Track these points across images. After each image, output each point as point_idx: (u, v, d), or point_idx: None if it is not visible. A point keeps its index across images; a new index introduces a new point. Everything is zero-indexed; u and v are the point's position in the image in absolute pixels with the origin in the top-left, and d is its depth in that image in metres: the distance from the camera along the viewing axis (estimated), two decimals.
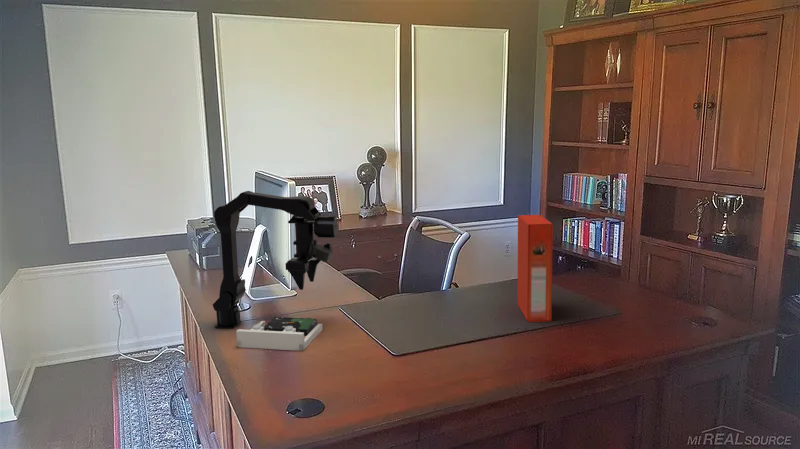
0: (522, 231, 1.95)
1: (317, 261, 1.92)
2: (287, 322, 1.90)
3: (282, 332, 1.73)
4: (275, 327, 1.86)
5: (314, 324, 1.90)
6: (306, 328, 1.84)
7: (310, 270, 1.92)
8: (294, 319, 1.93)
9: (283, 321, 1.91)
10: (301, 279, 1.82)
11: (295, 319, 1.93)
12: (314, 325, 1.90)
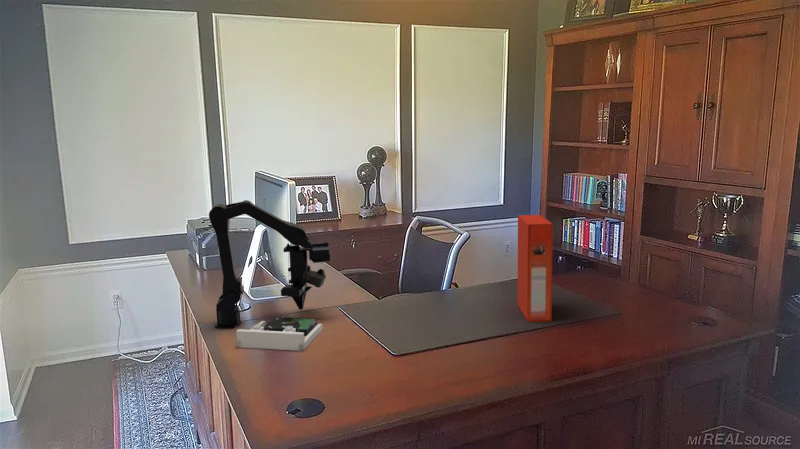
0: (522, 231, 1.95)
1: (306, 289, 1.98)
2: (287, 322, 1.90)
3: (282, 332, 1.73)
4: (275, 327, 1.86)
5: (314, 324, 1.90)
6: (306, 328, 1.84)
7: None
8: (294, 319, 1.93)
9: (283, 321, 1.91)
10: (300, 300, 1.96)
11: (295, 319, 1.93)
12: (314, 325, 1.90)
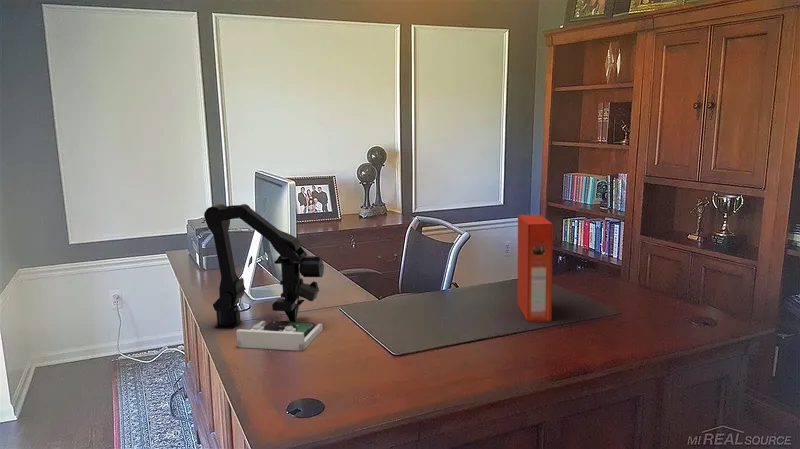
0: (522, 231, 1.95)
1: (299, 303, 1.91)
2: (284, 326, 1.86)
3: (282, 332, 1.73)
4: None
5: (311, 328, 1.86)
6: (303, 332, 1.81)
7: None
8: (291, 323, 1.89)
9: (280, 325, 1.87)
10: (293, 314, 1.90)
11: (292, 323, 1.89)
12: (311, 329, 1.86)
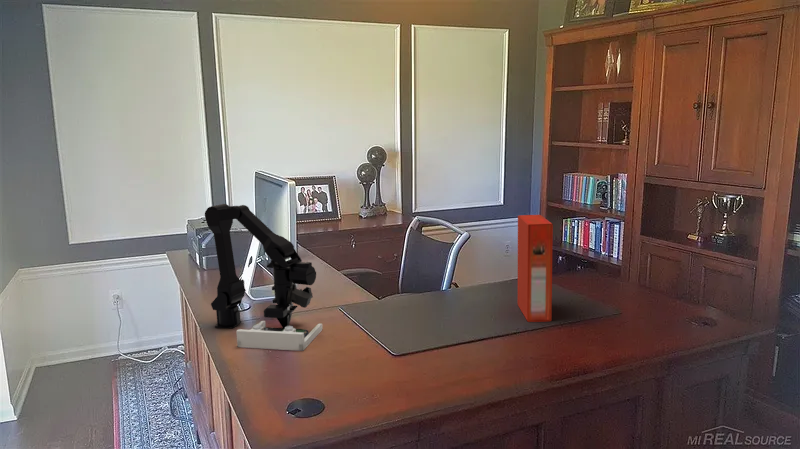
0: (522, 231, 1.95)
1: (292, 309, 1.85)
2: None
3: (282, 332, 1.73)
4: None
5: (305, 335, 1.80)
6: None
7: None
8: None
9: None
10: (285, 320, 1.84)
11: None
12: (305, 336, 1.80)
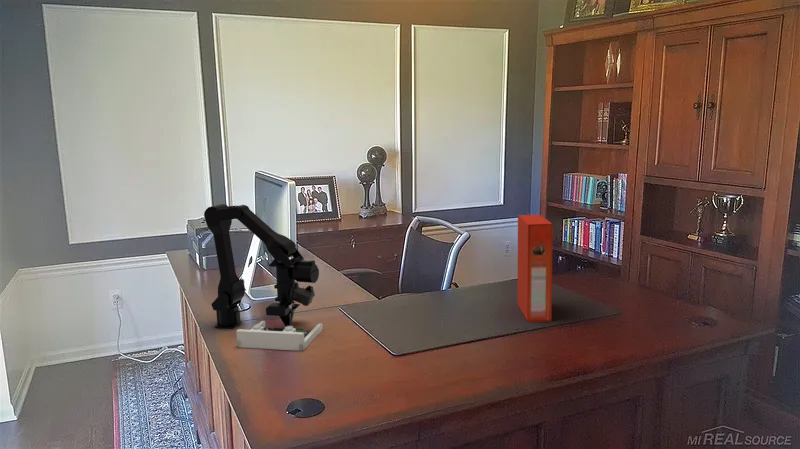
0: (522, 231, 1.95)
1: (294, 307, 1.87)
2: None
3: (282, 332, 1.73)
4: None
5: (305, 335, 1.80)
6: None
7: None
8: None
9: None
10: (288, 319, 1.85)
11: None
12: (305, 336, 1.80)
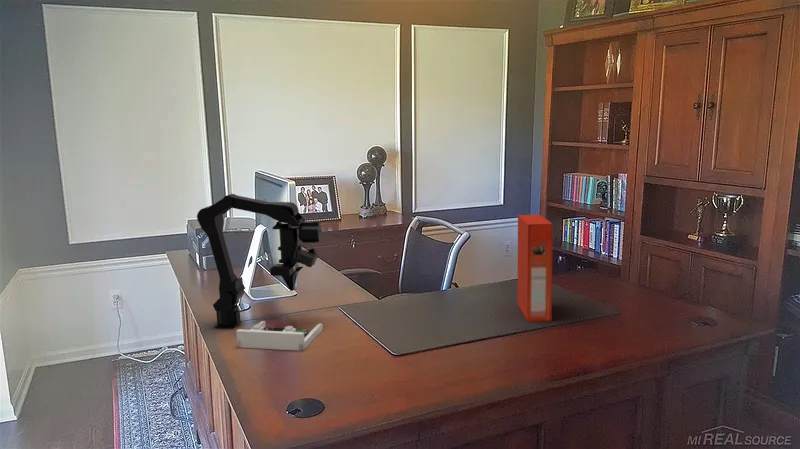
0: (522, 231, 1.95)
1: (297, 269, 1.90)
2: None
3: (282, 332, 1.73)
4: None
5: (305, 336, 1.80)
6: None
7: None
8: None
9: None
10: (291, 280, 1.88)
11: None
12: None
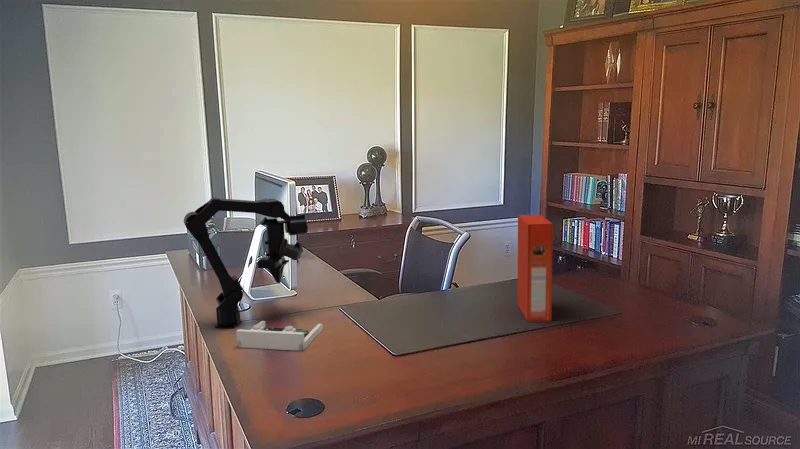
0: (522, 231, 1.95)
1: (283, 263, 1.99)
2: None
3: (282, 332, 1.73)
4: None
5: (305, 336, 1.80)
6: None
7: None
8: None
9: None
10: (278, 273, 1.97)
11: None
12: None
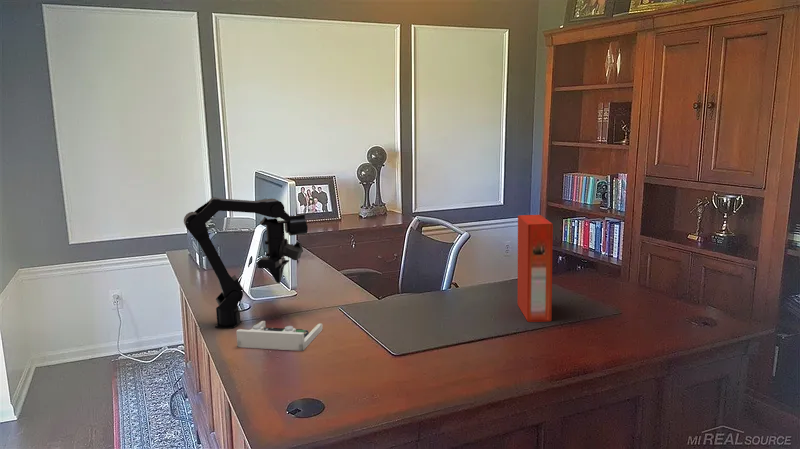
0: (522, 231, 1.95)
1: (283, 263, 1.99)
2: None
3: (282, 332, 1.73)
4: None
5: (305, 336, 1.80)
6: None
7: None
8: None
9: None
10: (278, 273, 1.97)
11: None
12: None
